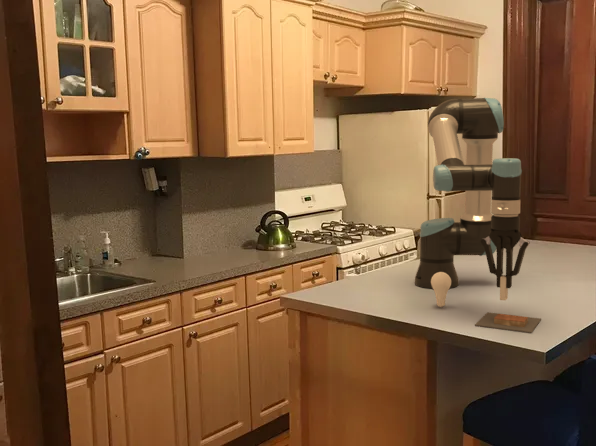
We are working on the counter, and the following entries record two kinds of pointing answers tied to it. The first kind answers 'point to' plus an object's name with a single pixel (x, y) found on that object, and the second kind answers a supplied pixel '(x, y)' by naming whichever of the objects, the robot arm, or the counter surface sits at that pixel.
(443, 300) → the lightbulb
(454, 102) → the robot arm
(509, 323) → the wooden block
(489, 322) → the mat
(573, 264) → the counter surface
